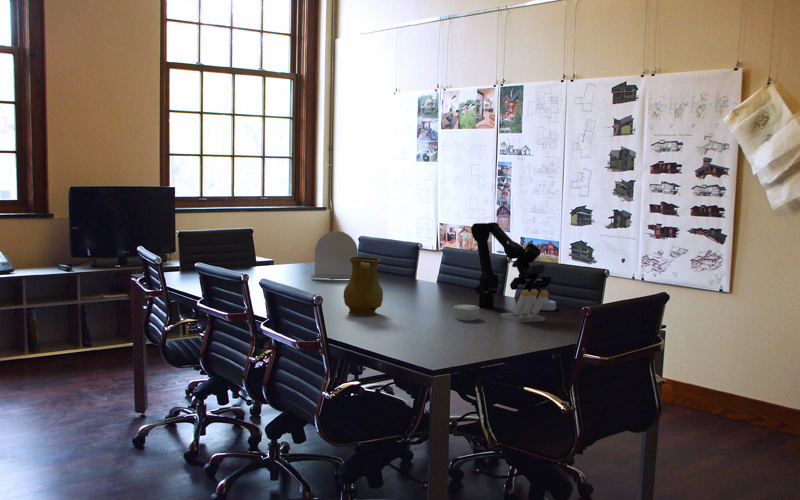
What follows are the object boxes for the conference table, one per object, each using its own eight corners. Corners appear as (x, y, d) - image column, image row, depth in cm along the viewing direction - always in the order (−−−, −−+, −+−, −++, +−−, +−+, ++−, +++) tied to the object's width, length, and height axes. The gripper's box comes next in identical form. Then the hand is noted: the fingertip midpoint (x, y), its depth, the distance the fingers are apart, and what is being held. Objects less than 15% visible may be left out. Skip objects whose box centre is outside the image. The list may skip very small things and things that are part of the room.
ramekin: (476, 322, 316) (476, 310, 315) (450, 320, 319) (450, 308, 318) (481, 317, 326) (482, 305, 326) (456, 315, 330) (456, 303, 329)
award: (359, 278, 436) (360, 230, 433) (361, 280, 427) (361, 232, 424) (311, 278, 433) (311, 230, 430) (311, 280, 424) (311, 231, 421)
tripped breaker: (529, 312, 325) (541, 290, 317) (534, 312, 326) (546, 290, 318) (532, 316, 324) (543, 293, 316) (537, 315, 325) (548, 293, 317)
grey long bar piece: (521, 313, 323) (531, 289, 316) (526, 313, 324) (536, 288, 317) (523, 316, 322) (533, 292, 314) (528, 316, 323) (538, 292, 316)
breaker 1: (512, 314, 321) (522, 289, 314) (517, 313, 322) (527, 289, 315) (514, 317, 320) (524, 292, 312) (519, 317, 321) (529, 292, 314)
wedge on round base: (532, 310, 345) (558, 310, 348) (533, 296, 344) (559, 295, 347) (524, 307, 353) (550, 306, 356) (525, 293, 353) (551, 292, 356)
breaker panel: (500, 316, 328) (500, 312, 328) (525, 314, 334) (525, 311, 334) (518, 322, 316) (519, 318, 316) (544, 320, 321) (544, 316, 321)
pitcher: (390, 313, 332) (391, 256, 329) (368, 320, 315) (369, 260, 313) (356, 309, 340) (357, 253, 337) (334, 315, 323) (334, 257, 321)
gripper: (514, 258, 320) (528, 288, 311) (550, 257, 328) (565, 286, 319) (503, 274, 328) (517, 303, 319) (539, 272, 336) (553, 301, 327)
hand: (538, 298), depth 321 cm, fingers closed
